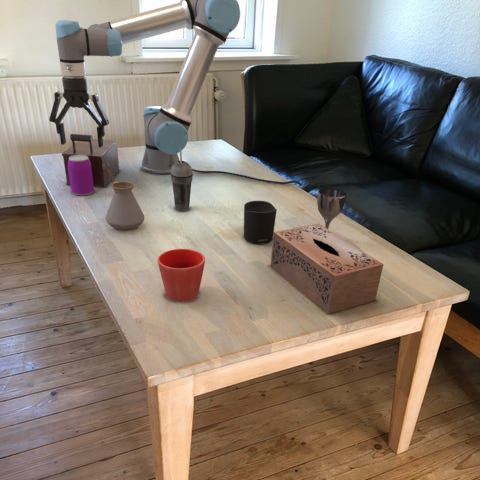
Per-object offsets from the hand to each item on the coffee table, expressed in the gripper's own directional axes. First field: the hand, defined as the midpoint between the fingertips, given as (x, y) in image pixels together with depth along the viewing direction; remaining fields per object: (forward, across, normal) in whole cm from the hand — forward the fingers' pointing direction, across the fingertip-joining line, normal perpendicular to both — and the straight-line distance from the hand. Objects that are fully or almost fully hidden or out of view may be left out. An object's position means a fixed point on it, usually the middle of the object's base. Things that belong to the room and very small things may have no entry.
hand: (82, 145), depth 176 cm
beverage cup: (+14, +37, -16) cm, 43 cm away
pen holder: (+14, +63, -35) cm, 73 cm away
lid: (+4, 0, +8) cm, 9 cm away
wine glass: (+14, +83, -33) cm, 90 cm away
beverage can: (+14, +1, -8) cm, 16 cm away
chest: (+14, 0, +8) cm, 16 cm away
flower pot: (+14, +46, -70) cm, 85 cm away
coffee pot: (+14, +20, -29) cm, 38 cm away
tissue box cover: (+14, +80, -59) cm, 100 cm away
